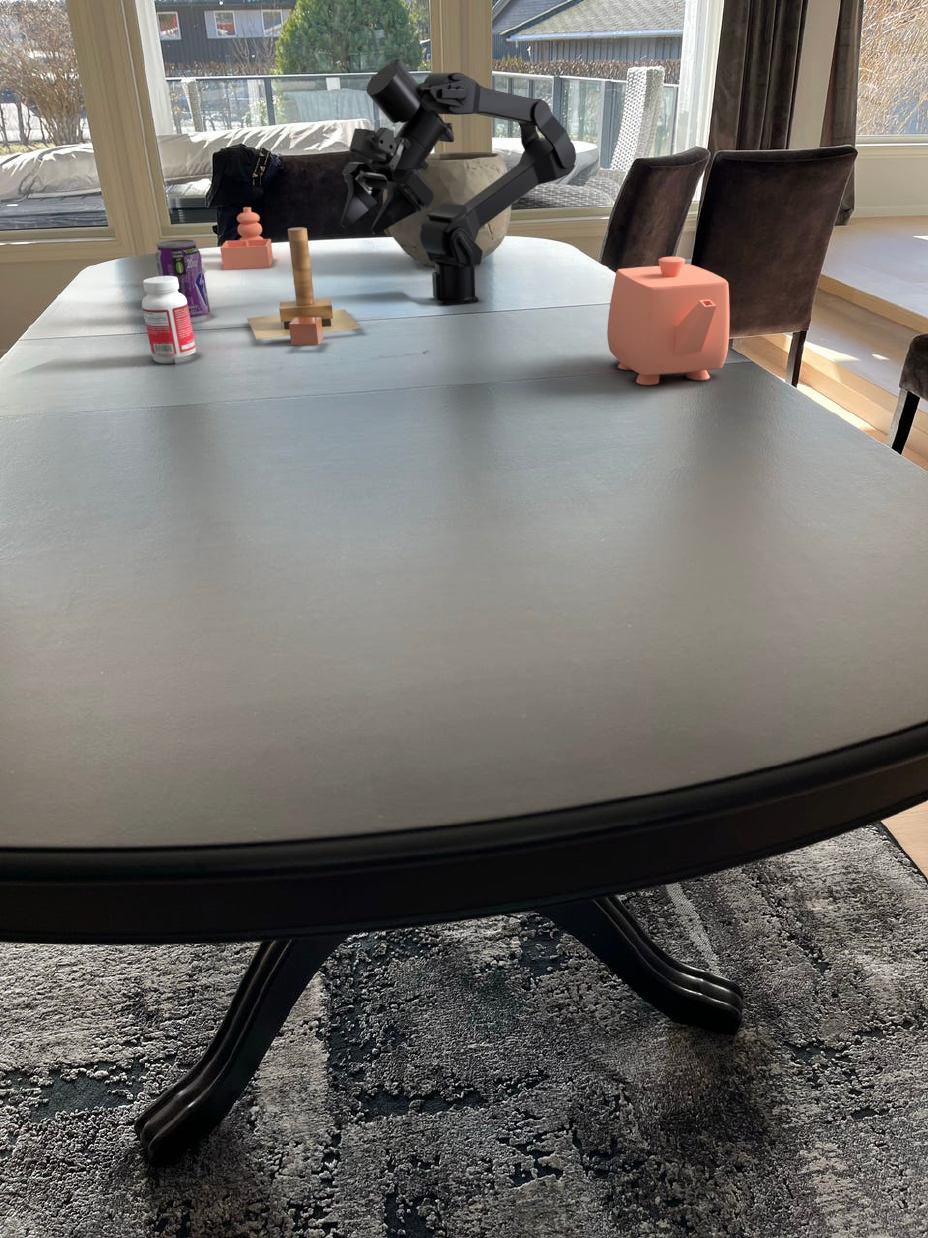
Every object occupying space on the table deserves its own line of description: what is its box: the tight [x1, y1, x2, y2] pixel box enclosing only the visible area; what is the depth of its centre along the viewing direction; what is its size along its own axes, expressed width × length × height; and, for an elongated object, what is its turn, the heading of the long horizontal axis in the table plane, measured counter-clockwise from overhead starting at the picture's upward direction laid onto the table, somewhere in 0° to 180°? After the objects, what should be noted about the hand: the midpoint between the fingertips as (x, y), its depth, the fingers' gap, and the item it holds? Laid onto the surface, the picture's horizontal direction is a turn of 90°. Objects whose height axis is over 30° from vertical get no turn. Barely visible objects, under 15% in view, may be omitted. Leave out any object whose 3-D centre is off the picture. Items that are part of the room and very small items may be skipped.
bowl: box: [382, 151, 519, 268], centre depth 188 cm, size 27×29×20 cm
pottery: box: [220, 206, 274, 271], centre depth 200 cm, size 18×10×10 cm, turn 5°
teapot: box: [606, 256, 730, 386], centre depth 120 cm, size 22×13×14 cm, turn 12°
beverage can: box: [155, 238, 211, 319], centre depth 155 cm, size 7×7×12 cm
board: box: [247, 308, 361, 340], centre depth 149 cm, size 16×14×1 cm
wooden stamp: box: [278, 226, 334, 329], centre depth 144 cm, size 8×5×14 cm, turn 99°
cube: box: [289, 317, 324, 346], centre depth 138 cm, size 4×4×4 cm
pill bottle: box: [141, 275, 197, 365], centre depth 133 cm, size 6×6×11 cm
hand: (357, 229), depth 147 cm, fingers open, 9 cm apart
